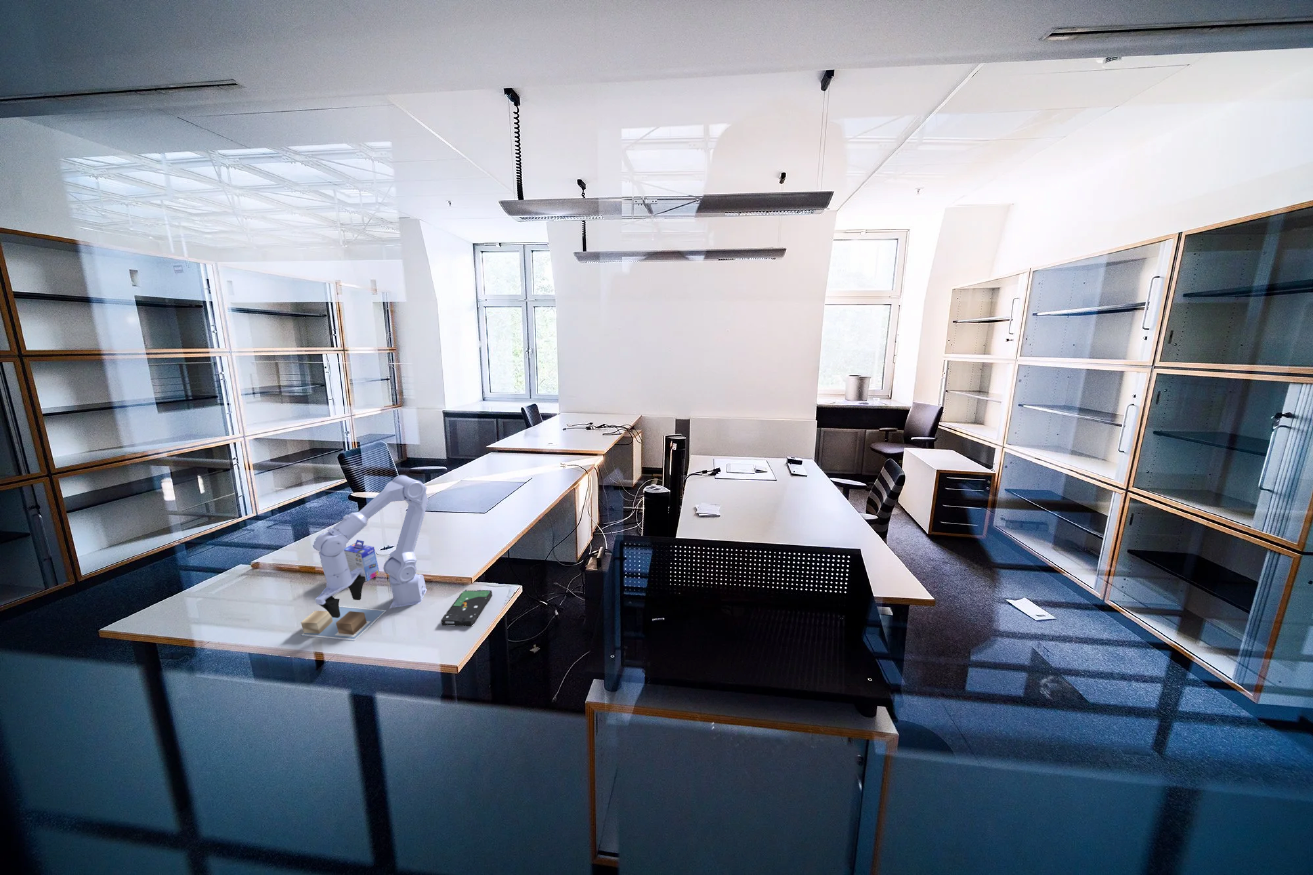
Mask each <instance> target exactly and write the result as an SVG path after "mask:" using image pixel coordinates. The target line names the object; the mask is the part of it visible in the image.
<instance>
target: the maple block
mask: <svg viewBox="0 0 1313 875" xmlns="http://www.w3.org/2000/svg"><path fill="white" fill-rule="evenodd" d="M332 622H333V620H332V616H331V615H330V614H329V612H328V611H327V610H314V611H313V612H311V613H310V614H309V615H308V616H307V617H306V618H304V619H303V620H302V621H301V622H300V624H301V627H302V631H303V633H317V634H320V633H321V632H322V631H323V630H324V629H325V628H327V627H328V626H329V625H330V624H331V623H332Z"/></svg>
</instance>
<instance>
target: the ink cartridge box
mask: <svg viewBox="0 0 1313 875" xmlns="http://www.w3.org/2000/svg"><path fill="white" fill-rule="evenodd" d="M364 543H365V541H364V540H361V539H356V541H355V542H354V543H352V544H350V545H348V546H346V547H345V549H344V553H345V555H346V559H347V562H348V566H349V570H350V572H351V571H353V570H355V569H356V568H363V572H364V574H362V575H361V576H364V577H365V579H366V580H365V582H369V581H371V579H373V578H375V577H377V576H378V575H379V572H380V569H379V564H378V560H377V556H376V554H377V553H376V550H375V546H371V545H366V544H364ZM379 576H380V575H379Z"/></svg>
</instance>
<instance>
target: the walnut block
mask: <svg viewBox="0 0 1313 875" xmlns="http://www.w3.org/2000/svg"><path fill="white" fill-rule="evenodd" d="M366 623H367V622H366V618H365V614H364V612H353V611H349V612H348V613H347V614H346V615H345V616H343V617H342V618H341V619H340V620H339V621H337V622H336V625H337V629H338V632H339V633H340V634H351V635H354V634H355V633H356V632H357V631H358V630H359V629H360V628H362V627H363V626H364V625H365V624H366Z"/></svg>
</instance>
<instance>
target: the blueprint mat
mask: <svg viewBox="0 0 1313 875" xmlns="http://www.w3.org/2000/svg"><path fill="white" fill-rule="evenodd" d="M339 610H340V617H339V618H332V620H333V622H332V623H331V624H330V625H329V626H328V627H327V628H325V629H324V630H323V631H322V632H321V633H320V634H317V633H304V632H303V633H301V635H300V636H302V637H313V638H321V639H332V640H343V641H351V642H355V641H356V640H357V639H358V638H359V637H361V635H362V634H363V633H364V632H365V631H366V630H368V629H369V628H370V627H371V626H372V625H373V624H374V623H375V622H377V620H378V619H380V617H382V616H383V615H384V614H385V613H386V612H387V611H388V610H387V609H379V608H378V609H377V608H368V607H367V608H366V607H358V606H357V607H355V606H344V605H339ZM349 611H353V612H364V614H365V618H366V622H367V623H366V624H365V625H364V626H363V627H362V628H360V629H359V630H358V631H357V632H356V633H355V634H354V635H351V634H340V633H339V632H338V629H337V625H336V622H337V621H339V620H340V619H341V618H342V617H343V616H345V615H346V614H347V613H348V612H349Z"/></svg>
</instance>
